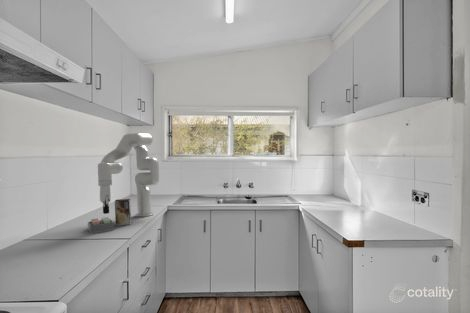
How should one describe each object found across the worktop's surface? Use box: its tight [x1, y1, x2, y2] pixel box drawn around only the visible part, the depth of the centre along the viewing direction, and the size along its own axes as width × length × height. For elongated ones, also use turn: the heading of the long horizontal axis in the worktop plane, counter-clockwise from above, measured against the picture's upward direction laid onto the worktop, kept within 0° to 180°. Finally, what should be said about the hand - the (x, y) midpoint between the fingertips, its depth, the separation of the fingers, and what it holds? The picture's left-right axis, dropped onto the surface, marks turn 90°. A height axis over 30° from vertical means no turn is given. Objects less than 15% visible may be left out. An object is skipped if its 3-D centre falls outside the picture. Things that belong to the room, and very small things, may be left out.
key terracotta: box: [92, 219, 100, 225], centre depth 186 cm, size 4×4×4 cm
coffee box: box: [114, 198, 132, 227], centre depth 203 cm, size 9×6×16 cm
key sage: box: [103, 218, 111, 224], centre depth 189 cm, size 4×4×4 cm
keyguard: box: [87, 218, 115, 234], centre depth 190 cm, size 13×13×4 cm
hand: (106, 213), depth 189 cm, fingers closed
